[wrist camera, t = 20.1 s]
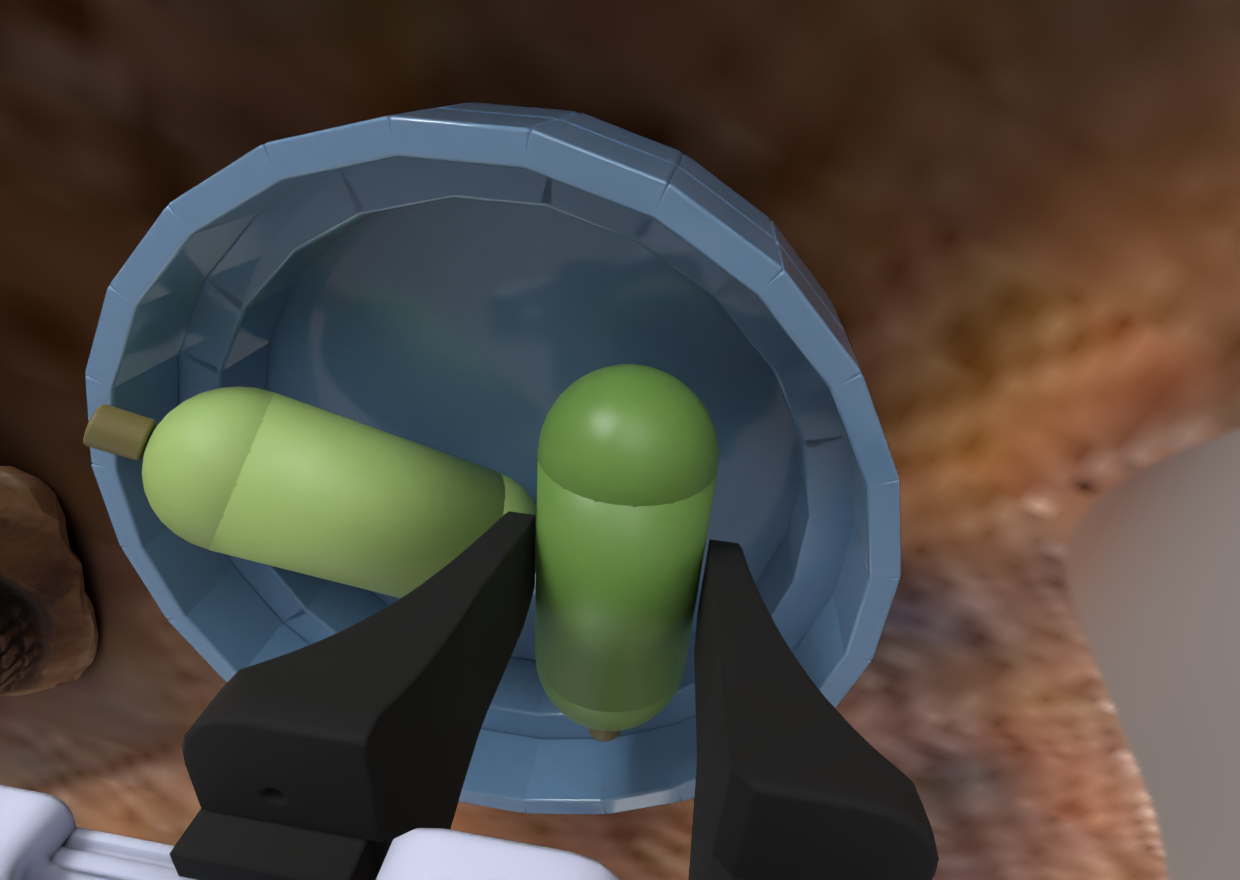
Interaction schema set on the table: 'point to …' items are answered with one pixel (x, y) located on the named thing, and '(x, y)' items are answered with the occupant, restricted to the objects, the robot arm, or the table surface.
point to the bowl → (506, 386)
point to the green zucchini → (620, 543)
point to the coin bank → (39, 591)
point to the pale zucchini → (307, 488)
